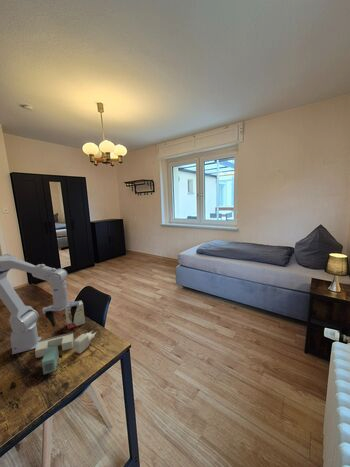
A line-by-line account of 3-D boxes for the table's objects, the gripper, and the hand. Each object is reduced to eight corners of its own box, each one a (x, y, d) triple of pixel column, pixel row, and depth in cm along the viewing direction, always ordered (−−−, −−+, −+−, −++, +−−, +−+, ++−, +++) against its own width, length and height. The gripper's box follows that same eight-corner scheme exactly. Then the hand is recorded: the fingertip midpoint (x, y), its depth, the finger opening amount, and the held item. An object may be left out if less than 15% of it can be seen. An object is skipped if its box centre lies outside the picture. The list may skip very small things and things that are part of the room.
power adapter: (91, 336, 97) (90, 325, 96) (99, 338, 95) (98, 327, 94) (72, 352, 87) (71, 340, 86) (81, 355, 85) (79, 343, 84)
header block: (35, 358, 84) (34, 350, 83) (39, 347, 90) (38, 340, 89) (72, 348, 89) (71, 340, 89) (73, 339, 95) (72, 332, 95)
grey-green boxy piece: (43, 375, 75) (41, 363, 75) (48, 359, 83) (46, 348, 82) (55, 372, 77) (53, 359, 76) (58, 356, 85) (57, 345, 84)
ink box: (67, 329, 103) (65, 308, 101) (66, 324, 107) (64, 304, 105) (85, 323, 107) (83, 303, 106) (83, 319, 111) (81, 300, 110)
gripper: (39, 303, 82) (43, 333, 84) (77, 296, 87) (80, 324, 90) (43, 296, 88) (46, 323, 91) (78, 290, 94) (81, 316, 96)
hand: (63, 323), depth 91 cm, fingers open, 7 cm apart
